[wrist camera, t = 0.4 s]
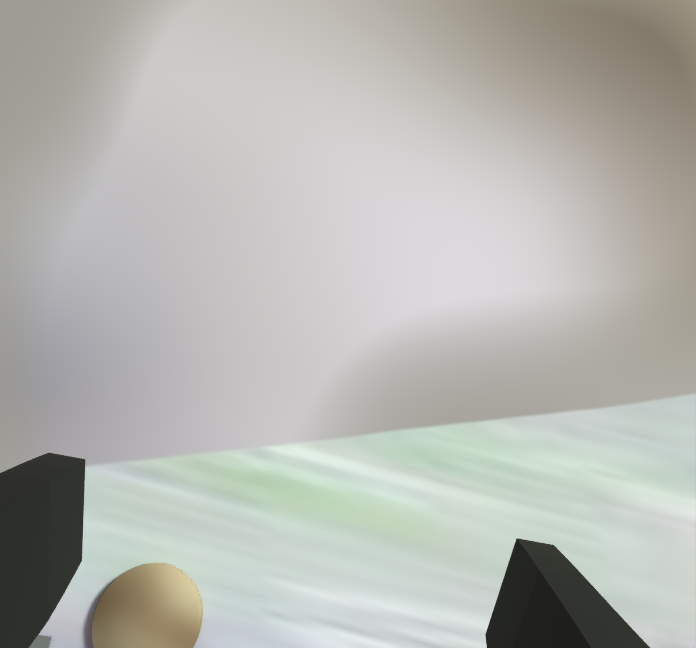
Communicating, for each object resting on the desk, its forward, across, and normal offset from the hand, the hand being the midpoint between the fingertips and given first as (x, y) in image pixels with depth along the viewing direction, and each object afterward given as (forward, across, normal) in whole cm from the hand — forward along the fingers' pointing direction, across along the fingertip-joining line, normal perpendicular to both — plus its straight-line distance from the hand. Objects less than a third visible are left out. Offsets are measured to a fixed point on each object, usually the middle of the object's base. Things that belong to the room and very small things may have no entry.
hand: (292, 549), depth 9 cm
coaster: (+17, +8, +21) cm, 28 cm away
